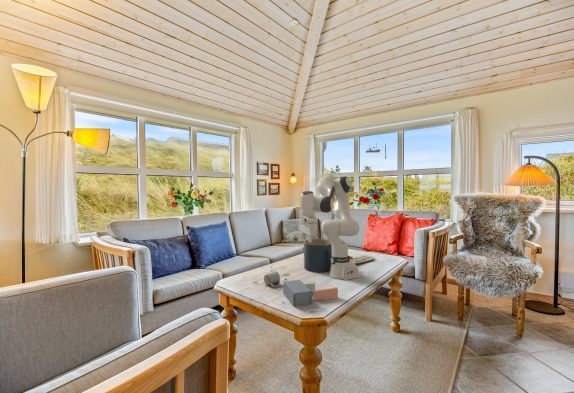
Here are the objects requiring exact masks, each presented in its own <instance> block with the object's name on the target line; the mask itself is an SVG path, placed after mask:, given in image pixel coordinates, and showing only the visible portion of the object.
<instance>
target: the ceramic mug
mask: <svg viewBox="0 0 574 393" xmlns="http://www.w3.org/2000/svg"><path fill="white" fill-rule="evenodd" d="M263 281H264V283H265V285H266V286H271V287H272V288H276V289H277V288H279V287H280V284H281V283H280V282H281V277H280V273H279V272H278V271H277V270H275V271H274V270H273V271H271V272H268V273H266V274H264V276H263Z"/></svg>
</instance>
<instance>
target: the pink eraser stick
mask: <svg viewBox="0 0 574 393" xmlns="http://www.w3.org/2000/svg"><path fill="white" fill-rule="evenodd" d="M338 294H339V288H338V287H337V286H335V287H329V288H321V289H315V290H314V292H313V300H314V301H318V300H325V299H333V298H338V297H339V295H338Z"/></svg>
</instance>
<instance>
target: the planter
mask: <svg viewBox="0 0 574 393" xmlns="http://www.w3.org/2000/svg"><path fill="white" fill-rule="evenodd" d="M331 255H332V248H331V242H330V240H329V239H325V238H324V239H323V238H312V242H311V243H309V242H308V239H304V241H303V267H304V270H306V271H307V272H311V273H318V274H319V273H321V274H322V273H328V272H329V273H330V269H331Z"/></svg>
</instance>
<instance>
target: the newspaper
mask: <svg viewBox="0 0 574 393" xmlns="http://www.w3.org/2000/svg"><path fill="white" fill-rule="evenodd" d="M375 259H376V258H375V257H374V256H371V255H365V254H364V255H360V256H358V257H355V258H354V257H353V260H351V259H350V261H351V262H352V263H354V264H355V265H356V264H357V265H359V264H363V263H366V262H369V261H371V260H375ZM357 265H356V266H357Z"/></svg>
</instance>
